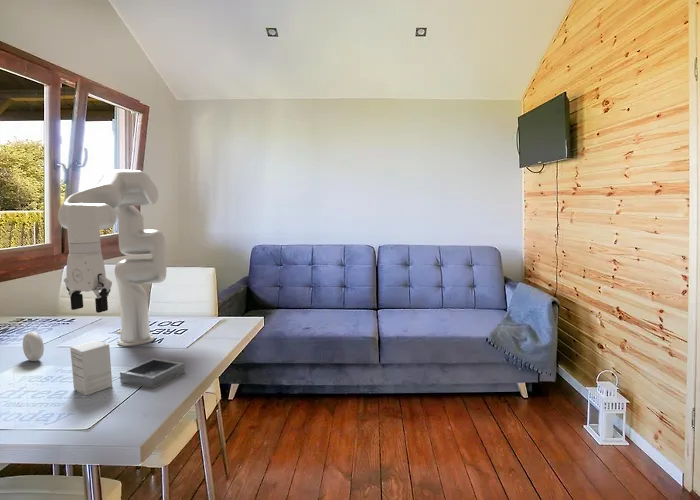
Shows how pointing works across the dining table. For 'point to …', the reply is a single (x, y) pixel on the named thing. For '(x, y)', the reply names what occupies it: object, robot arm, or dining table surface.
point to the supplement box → (91, 367)
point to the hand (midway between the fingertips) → (89, 310)
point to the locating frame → (152, 373)
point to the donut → (33, 346)
